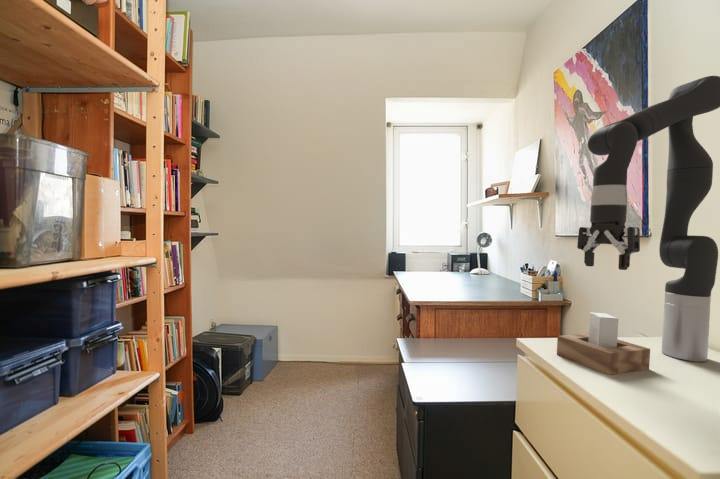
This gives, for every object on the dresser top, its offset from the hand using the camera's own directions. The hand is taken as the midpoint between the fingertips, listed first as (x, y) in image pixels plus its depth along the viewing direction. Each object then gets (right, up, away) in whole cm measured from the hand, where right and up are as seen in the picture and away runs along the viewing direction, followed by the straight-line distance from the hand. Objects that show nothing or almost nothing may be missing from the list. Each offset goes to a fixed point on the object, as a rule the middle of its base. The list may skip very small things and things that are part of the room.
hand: (605, 267), depth 90 cm
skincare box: (-1, -24, 0) cm, 24 cm away
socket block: (-1, -24, 0) cm, 24 cm away
